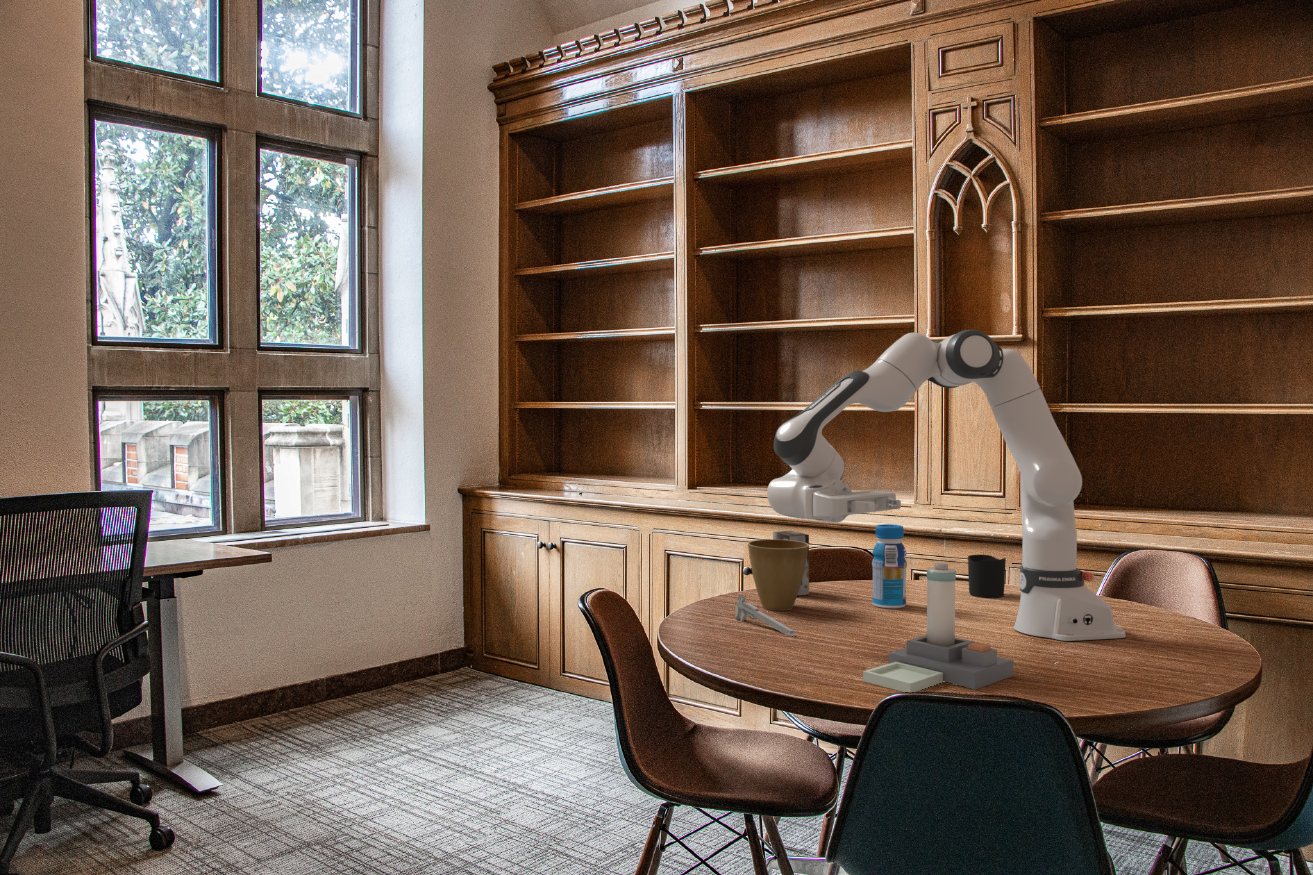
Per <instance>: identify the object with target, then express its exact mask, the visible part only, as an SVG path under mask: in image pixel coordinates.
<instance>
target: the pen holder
mask: <svg viewBox="0 0 1313 875" xmlns="http://www.w3.org/2000/svg"><path fill="white" fill-rule="evenodd" d="M1006 560H1007V559H1006V557H1003V558H1001V559H999V558H997V557H995V556H992V555H989V554H971V555H968V556H967V568H968V569H967V570H968V572H967V573H968V593H969V594H970V596H972V597H976V598H983V599H996V598H997V599H998V598H1002V597H1003V596H1004V595H1005V585H1006V584H1005V583H1006V582H1005V581H1006V580H1005V579H1006Z"/></svg>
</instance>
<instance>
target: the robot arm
mask: <svg viewBox="0 0 1313 875" xmlns="http://www.w3.org/2000/svg"><path fill="white" fill-rule="evenodd" d="M1035 376H1036V375H1034V373H1033V371H1032V369H1031V367H1030V366H1029V365H1028V363H1027V361H1026V359H1025V358H1024V357H1023V356H1022V354H1021V353H1020V352H1019V351H1017V350H1015V349H1012V348H1002V347H1001V346H999V345H998V344H997V343H996V342H995V341H994V340H993V338H991V337H990V336H989V335H988V334H987V333H986V332H983V331H981V330H977V329H964V330H961V331H958V332H957V333H955V334H952V335H949V336H947V337H946V338H945V339H943V340H942V341H940V342H934V341H932V340H931V339H930V337H928V336H926V335H924V334H922V333H919V332H908V333H906V334H904V335H902V336H901V337H900V338H898V339H897V340H896V341H894V343H892V344H891V345H890V346H889V347H888V348H887V349H885V351H883V353H882V354H881V355H880V356H879V357H878V358H877V359H876V360H875V362H873V364H871V365H870V366H869V367H867V368H865V369H864V370H853V371H851V372H849V373H847V374H846V375H844V376H843V377H841V378H839V379H838V380H837V381H836V382H835V383H833V384H832V385H831V386H830V387H829V388H827V390H826V391H824V392H823V393H822V394H820V395H819V396H818V397H817V398H816V399H815V400H813V402H811V403H810V404H808V406H806V407H805V408H804V409H803V410H801V411H800V412H799V413H798V414H796V415H795V416H793V417H790V418H789V419H788V420H786V421H784V422H783V423H782V424H781V425H780V426H779V427H778V429H777V430H776V432H775V436H774V439H773V450H774V454H776V456H777V457H779V458H780V459H781V460H782V461H783V462H784V463H786V464H787V465H788V466H789V467H790V468H791V470H790V471H788V473H785V474H784V475H783V476H781V477H778V478H777V477H776V478H774V479H772V480H771V481H770V482H769V484H768V486H767V491H766V496H767V501H768V504H769V506H770V507H771V508H772V510H773V511H774V512H776V513H777V514H779V515H782V516H784V517H787V518H788V517H789V518H794V519H799V520H800V519H802V520H811V521H814V520H815V521H820V522H829V523H837V524H838V523H841V522H843V521H844V520H845V519H846V518H847V517H849V516H850V515H852V516H853V515H860V514H868V513H876V512H884V511H886V512H887V511H893V510H899V509H901V506H902V501H901V500H900V499H897V495H896V493H895V492H893V491H882V490H881V491H880V490H860V491H852V489H851V488H850V487H849V486H848V484H847V483H846V482H845V481H843V480H842V479H843V477H844V475H845V469H846V464H845V461H844V459H843V457H841V455H840V453H838V452H837V450H836V449H835V448H834V447H833V445H831V444H830V442H828V440H827V438H825V436H824V435H822V433H823V429H824V427H825V426H826V425H827V424H829V423H830V422H831V421H832V420H833V419H834V418H836V416H838V415H839V414H840V413H841V412H842V411H844V410H845V409H846V408H847V407H848V406H850V405H854V404H861V405H863V406H865V407H866V408H869V409H871V410H874V411H877V412H882V413H889V412H895V411H897V410H899V409H901V408H902V407H903V406H905V405H906V404H907V403H908V402H909V401H910V399H912V397H913V396H914V395H915V393H916V392H917V391H918V390H919V389H920V388H921V386H922V385H923V384H924V383H925V382H926V381H928V382H930V383H933V384H934V385H936V386H938V387H941V388H945V389H955V388H959V387H961V386H965V385H968V384H971V383H975V384H977V386H979V387H980V389H981V390H982V391H983V393H984V394H985V397H986V399H987V401H988V404H989V407H990V409H991V411H992V414H993V416H994V418H995V420H996V423H997V425H998V428H999V430H1000V433H1001V435H1002V437H1003V440H1004V442H1005V444H1006V445H1007V448H1008V450H1009V452H1010V454H1011V456H1012V458H1013V459H1014V462H1015V464H1016V466H1017V468H1018V470H1019V474H1020V475H1019V476H1020V477H1019V479H1020V483H1019V484H1020V488H1019V489H1020V509H1021V511H1020V514H1021V525H1022V545H1021V546H1022V554H1021V555H1022V558H1021V560H1022V561H1021V565H1020V566H1019V567H1020V568H1019V579H1018V580H1019V582H1018V583H1019V591H1020V598H1019V599H1020V600H1019V605H1018V611H1017V615H1016V618H1015V619H1016V620H1015V623H1014V626H1013V630H1015V631H1016V632H1019V633H1021V634H1025V635H1029V636H1035V637H1042V638H1047V639H1054V640H1058V641H1063V642H1071V641H1073V642H1074V641H1075V642H1076V641H1088V640H1089V641H1091V640H1093V641H1094V640H1107V639H1108V640H1109V639H1124V638H1126V630H1125V629H1123V628H1122V627H1121V626H1118V625H1116V624H1115V621H1114V615H1113V610H1112V607H1111V606H1110V605H1109V603H1107V602H1106V601H1105V600H1104V599H1102V598H1101V597H1100V596H1098V595H1097V594H1096V593H1095V592H1093V591H1092V590H1091V589H1089V588H1088V587H1087V586H1085V581H1086V582H1088V583H1091V582H1093V580H1095V576H1094V574H1093V573H1092V572H1090V571H1083V570H1081V569H1079V568H1078V567H1077V562H1078V561H1077V554H1078V553H1077V550H1078V548H1077V547H1078V545H1077V544H1078V542H1077V540H1078V539H1077V537H1078V535H1077V534H1078V532H1077V527H1076V519H1075V518H1076V516H1075V515H1076V514H1075V506H1074V505H1075V504H1074V503H1075V502H1074V501H1075V499H1077V497H1078V496H1079V495H1080V492H1081V491H1082V486H1083V477H1082V474H1081V471H1080V468H1079V467H1078V465H1077V463H1076V460H1075V458H1074V456H1073V454H1072V453H1071V450H1070V449H1069V446H1068V445H1067V442H1066V440H1065V438H1064V437H1063V434H1062V433H1061V431H1060V430H1059V427H1058V426H1057V423H1056V422H1055V419H1054V417H1053V415H1052V412H1051V410H1050V407H1049V406H1048V405H1049V404H1048V403H1047V401H1046V398H1045V396H1044V394H1043V391H1042V389H1041V386H1040V385H1039V382H1038V381H1037V378H1036V377H1035Z"/></svg>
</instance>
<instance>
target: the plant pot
mask: <svg viewBox="0 0 1313 875" xmlns="http://www.w3.org/2000/svg"><path fill="white" fill-rule="evenodd" d="M747 547H748V556H749V560H750V567H751V572H752V578H753V581H754V584H755V587H756V591H757V595H758V598H759V600H760V604H761V606H762V608H763V609H764V610H768V609H769V610H770V611H777V610H782V611H789V610H788V609H790V610H792V609H793V607H794V605H795V602H796V600H797V595H798V592H799V589H800V586H801V582H802V579H803V575H804V571H805V566H806V561H807V555H808V548H809V549H810V543H809V544H807V543H805V542H800V541H793V540H779V539H773V538H771V539H768V538H767V539H756V540H751V541H750V540H749V541H748V542H747ZM791 608H792V609H791ZM769 610H768V611H769Z"/></svg>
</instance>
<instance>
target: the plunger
mask: <svg viewBox="0 0 1313 875" xmlns="http://www.w3.org/2000/svg"><path fill="white" fill-rule="evenodd" d="M991 645H992V644H989V643H984V642H979V641H975V643H971V644H968V649H969V650H974V651H978V652H986V651H989V650H991V648H992V647H991Z"/></svg>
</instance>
